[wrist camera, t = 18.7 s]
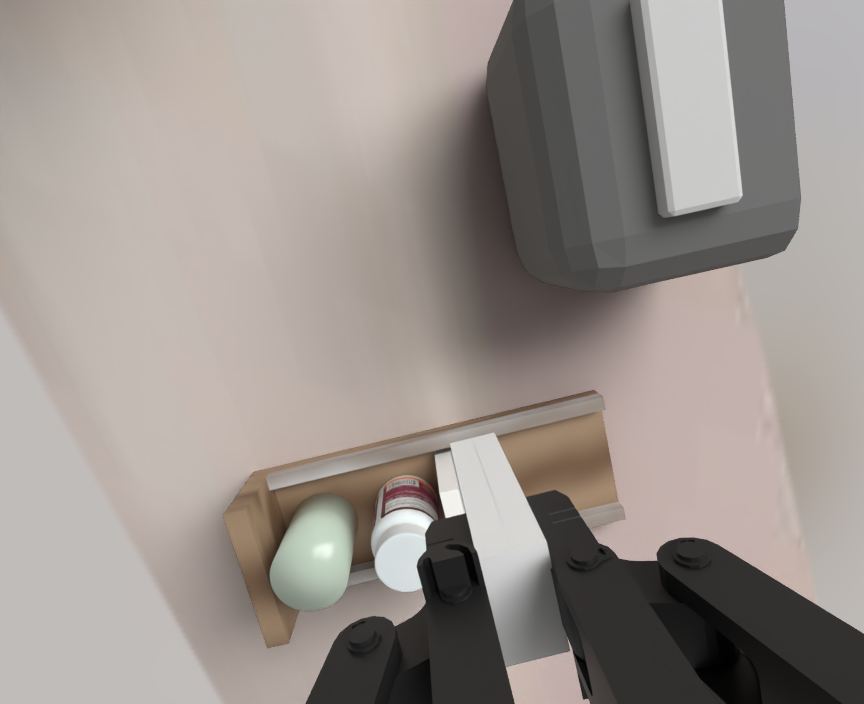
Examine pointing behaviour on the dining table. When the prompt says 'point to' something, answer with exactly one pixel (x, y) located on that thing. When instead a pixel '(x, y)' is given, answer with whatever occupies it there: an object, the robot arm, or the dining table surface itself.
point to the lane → (414, 455)
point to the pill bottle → (402, 530)
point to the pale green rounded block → (315, 553)
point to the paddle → (449, 484)
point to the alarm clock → (644, 137)
